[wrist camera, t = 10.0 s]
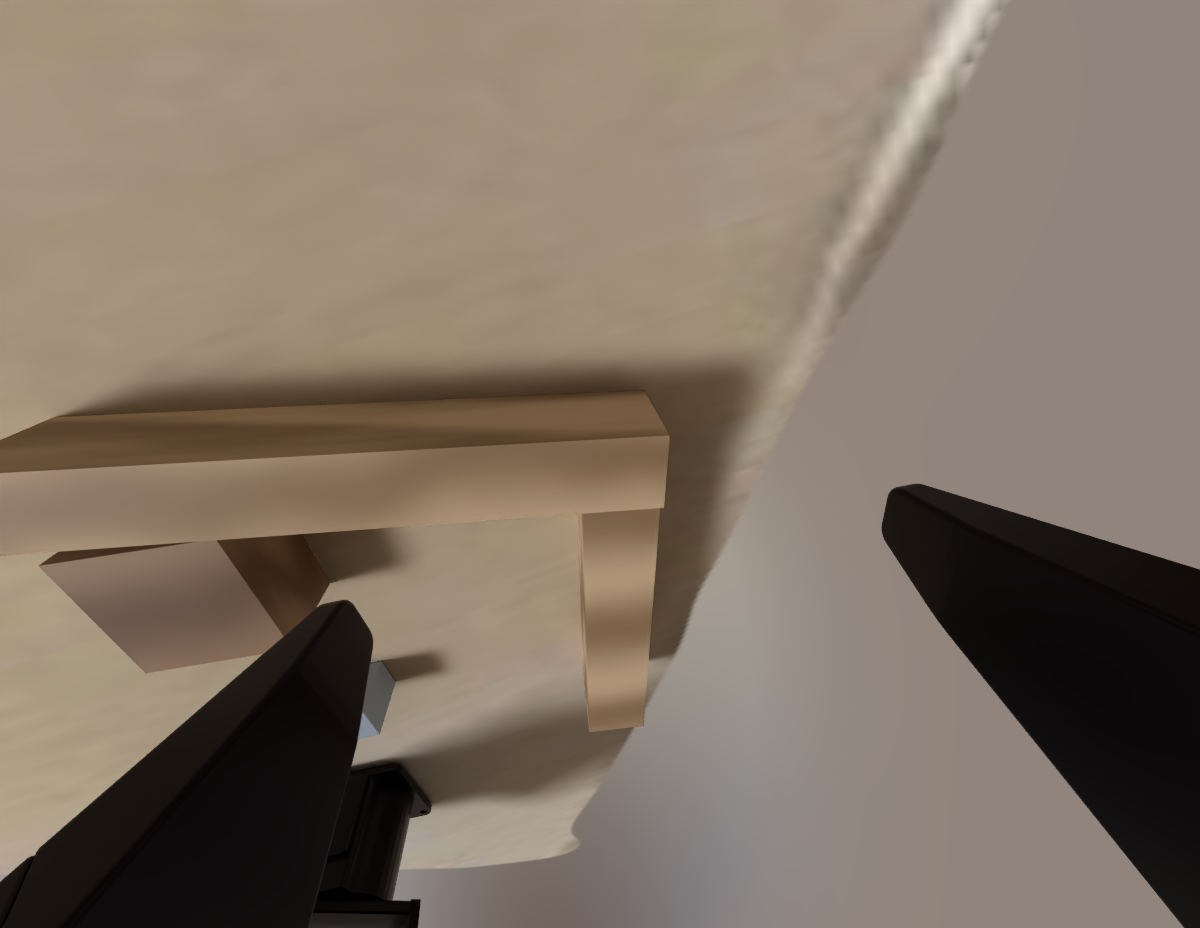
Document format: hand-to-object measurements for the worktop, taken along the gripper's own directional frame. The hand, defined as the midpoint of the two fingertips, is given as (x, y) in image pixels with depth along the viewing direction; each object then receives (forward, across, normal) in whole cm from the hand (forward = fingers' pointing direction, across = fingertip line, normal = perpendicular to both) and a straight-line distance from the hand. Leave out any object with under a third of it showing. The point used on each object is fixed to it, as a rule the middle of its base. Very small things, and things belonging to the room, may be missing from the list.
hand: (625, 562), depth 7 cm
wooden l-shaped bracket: (+12, +10, +9) cm, 18 cm away
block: (+12, +17, +6) cm, 22 cm away
